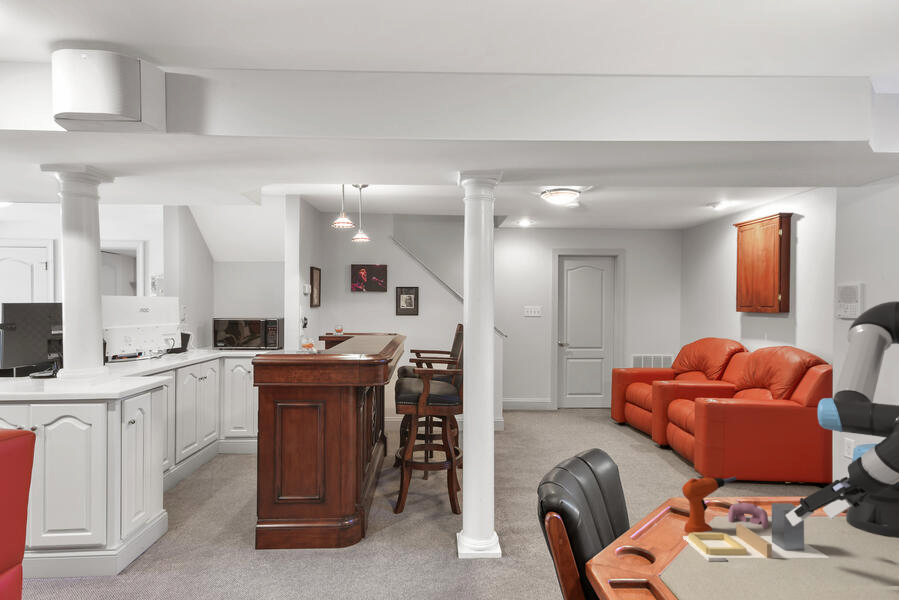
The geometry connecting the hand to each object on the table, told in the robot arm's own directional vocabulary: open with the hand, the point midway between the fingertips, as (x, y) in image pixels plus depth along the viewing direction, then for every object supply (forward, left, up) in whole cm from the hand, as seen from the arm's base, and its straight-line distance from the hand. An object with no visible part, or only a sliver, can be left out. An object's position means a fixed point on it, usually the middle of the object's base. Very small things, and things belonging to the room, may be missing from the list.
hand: (808, 517), depth 129 cm
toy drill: (+14, -19, -11) cm, 26 cm away
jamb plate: (+10, -6, -10) cm, 16 cm away
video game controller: (+1, -23, -11) cm, 25 cm away
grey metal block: (+1, -6, -10) cm, 12 cm away
